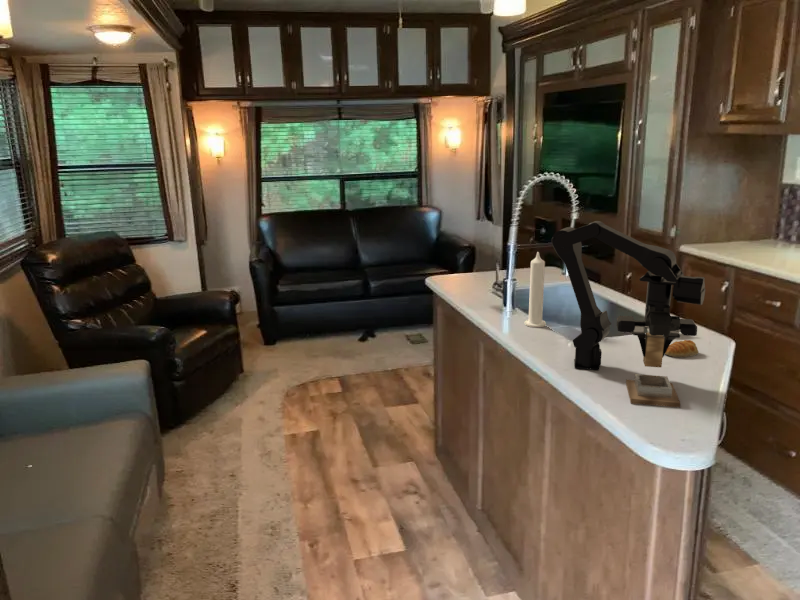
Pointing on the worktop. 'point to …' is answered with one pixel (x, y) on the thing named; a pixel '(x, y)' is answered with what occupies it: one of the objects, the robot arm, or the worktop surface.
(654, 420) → the worktop surface
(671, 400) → the plate
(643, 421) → the worktop surface
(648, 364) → the rail post
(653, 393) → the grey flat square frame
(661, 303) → the robot arm
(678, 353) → the pastry
